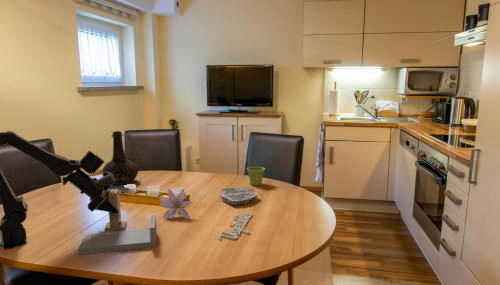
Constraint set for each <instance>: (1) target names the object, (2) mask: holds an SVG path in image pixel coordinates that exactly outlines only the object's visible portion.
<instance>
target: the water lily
mask: <svg viewBox="0 0 500 285" xmlns="http://www.w3.org/2000/svg"><path fill="white" fill-rule="evenodd" d="M167 195H168V197H169V198H168V197H160V198H159V200H160V203H159V206H160V207H161V208H164V209H168V210H167V211H166V212H164V214H163V216H162V219H163V220H167V219H168V218H169V219H173V218H174V217H175V215H176V214H177V213H179V215H181V216H182V217H184V218H185V219H190V214H189V213H188V211H186V209H185V208H186V207H188V206H191V205H193V204H194V202H193V201H191V200H187V201H184V199H185V197H186V192H185V188H183V189H181V190H180V191H179V193H178V195H177V196H176V195H175V193H174V192H173V190H171V189H168V188H167Z"/></svg>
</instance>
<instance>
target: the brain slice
mask: <svg viewBox="0 0 500 285" xmlns="http://www.w3.org/2000/svg"><path fill="white" fill-rule="evenodd" d="M257 195H258V192H257V191H254V189H252V188H248V187H246V188H245V187H244V188H243V187H226V188H222V189H221V194H220V197H221V200H222V201H223V202H224V203H226V202H227V204H228V205H230V206H238V205H246V204H249V203H250V202H251V201H252V200H253V199H255V198H256V197H257Z"/></svg>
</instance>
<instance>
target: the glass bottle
mask: <svg viewBox="0 0 500 285" xmlns="http://www.w3.org/2000/svg"><path fill="white" fill-rule="evenodd" d="M123 136H124V134H122V131H118V130H116V131H113V132H112V135H111V137H112V139H113V140H112V143H113V144H112V158H111V160H110V161H108V162H107V163H106V164H104V166H103V168H102V174H103V173H104V172H106V171H108V172H109V173H112V174H114V178H115V182H114V183H113V184H112V185H126V184H129V183H132V182H133V181H134V180H135V179H136V178H137V176H138V174H139V167H138V164H137V163H136V162H135V161H134V160H133V159H131V158H127V156H126V153H125V150H124V144H123V143H124V142H123Z"/></svg>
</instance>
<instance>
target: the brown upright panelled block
mask: <svg viewBox="0 0 500 285" xmlns="http://www.w3.org/2000/svg"><path fill="white" fill-rule="evenodd" d="M110 189H111V188H110ZM110 189H109V190H110ZM120 198H121V197H120V189H119V188H117V189H116V188H115V189H114V188H112V189H111V190H110V191H109V193H108V200H109V202H110V203H111V204H112V205H113V206H114V207H115V208H116V209H117V210H118V213H117V214H115V213H111V212H108V217H109V220H108V222H107V223H106V224H105V227H104V233H106V232H118V231H126V228H127V220H122V211H121V210H122V209H121V206H120V205H121V200H120Z"/></svg>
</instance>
